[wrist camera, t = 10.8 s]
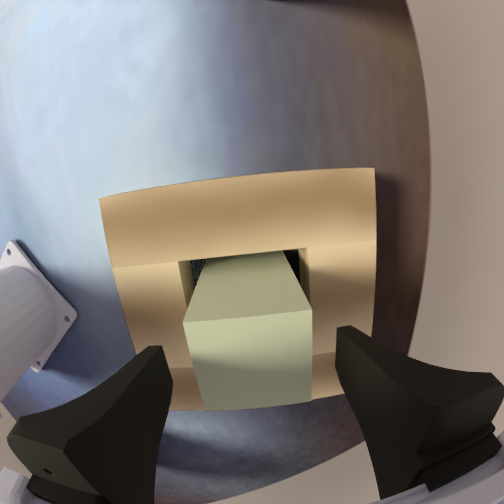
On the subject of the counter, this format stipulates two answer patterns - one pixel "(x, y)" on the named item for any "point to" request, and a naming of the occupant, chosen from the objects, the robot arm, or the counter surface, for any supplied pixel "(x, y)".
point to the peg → (250, 333)
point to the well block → (245, 242)
